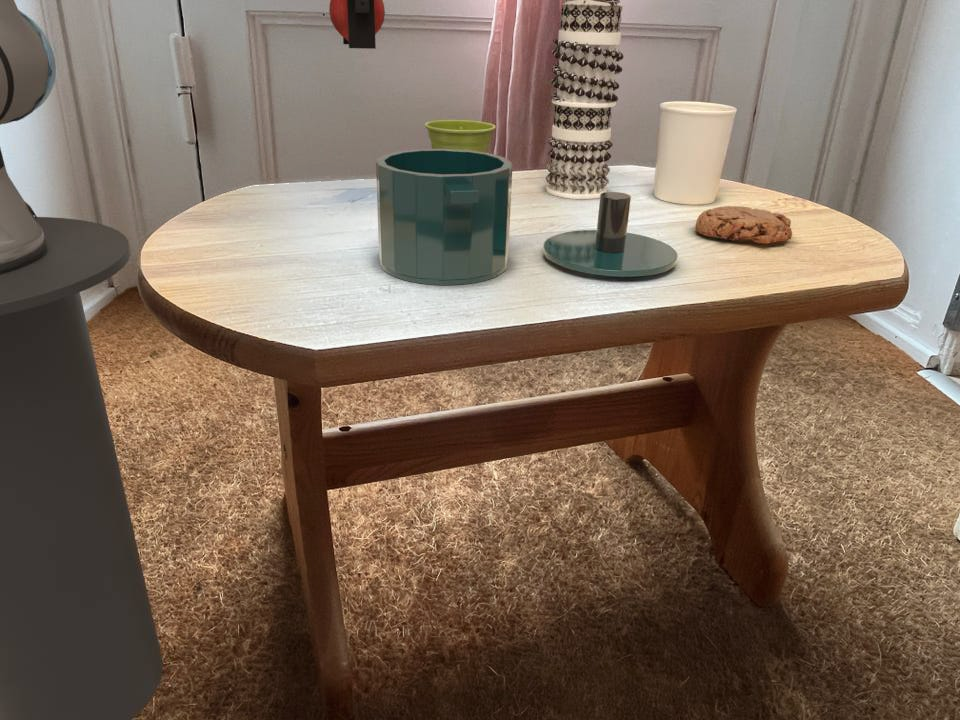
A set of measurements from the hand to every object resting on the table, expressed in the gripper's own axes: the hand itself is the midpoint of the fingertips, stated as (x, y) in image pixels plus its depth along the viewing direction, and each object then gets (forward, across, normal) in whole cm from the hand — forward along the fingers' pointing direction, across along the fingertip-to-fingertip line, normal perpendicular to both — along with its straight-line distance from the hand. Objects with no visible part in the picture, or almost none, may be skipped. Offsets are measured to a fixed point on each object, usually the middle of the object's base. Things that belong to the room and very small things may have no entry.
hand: (358, 45), depth 80 cm
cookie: (+19, -15, -42) cm, 48 cm away
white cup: (+19, +3, -44) cm, 48 cm away
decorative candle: (+19, +9, -30) cm, 37 cm away
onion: (0, 0, 0) cm, 0 cm away
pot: (+19, -18, -6) cm, 27 cm away
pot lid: (+18, -20, -23) cm, 35 cm away
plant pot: (+19, +12, -14) cm, 27 cm away
